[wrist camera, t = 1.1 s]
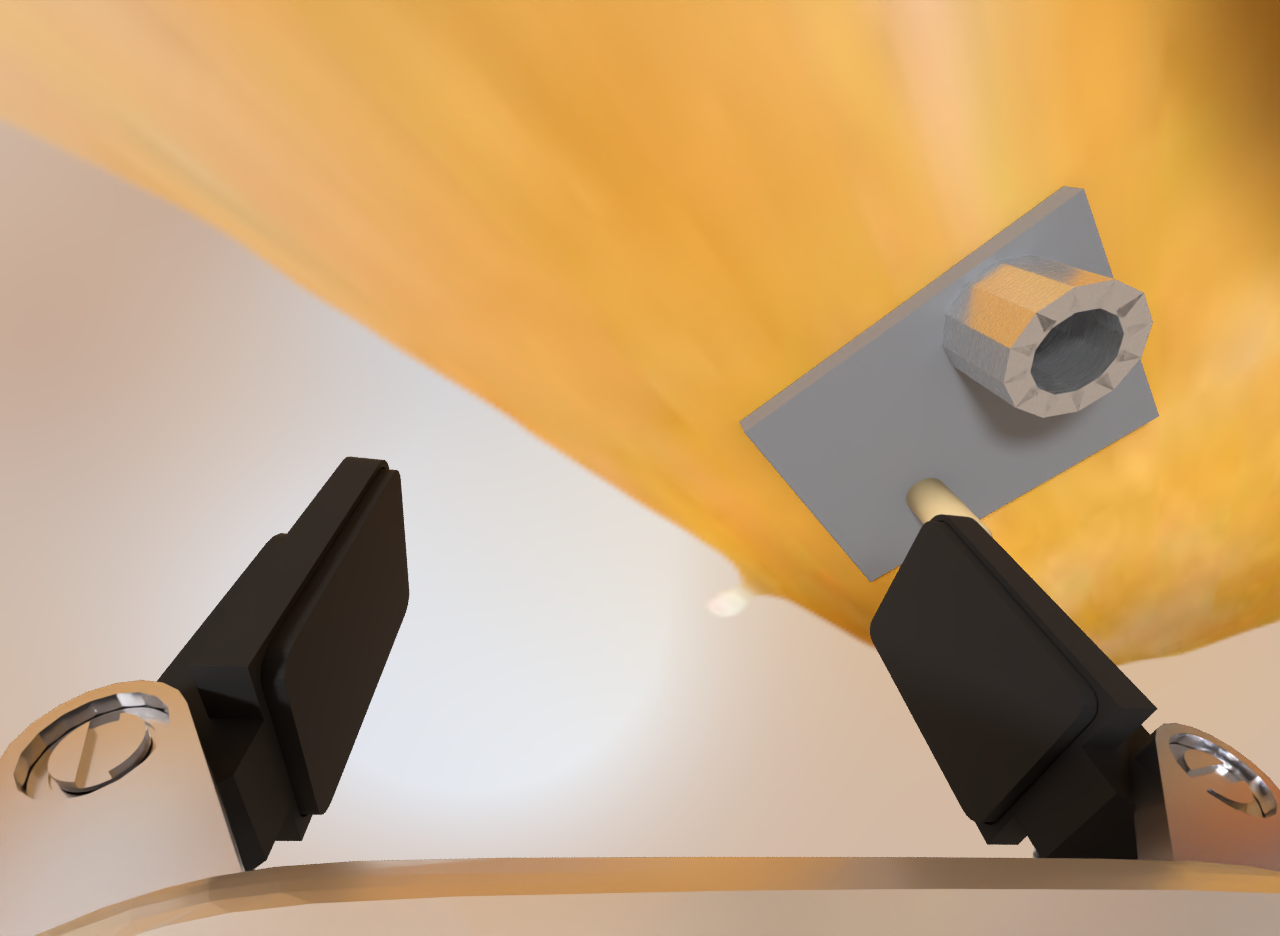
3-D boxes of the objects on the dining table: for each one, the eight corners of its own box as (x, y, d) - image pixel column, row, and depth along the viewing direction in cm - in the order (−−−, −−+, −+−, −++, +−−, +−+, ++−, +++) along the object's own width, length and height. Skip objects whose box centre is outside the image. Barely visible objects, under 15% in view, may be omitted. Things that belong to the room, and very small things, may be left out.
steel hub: (1040, 229, 30) (1130, 249, 25) (1077, 324, 33) (1164, 359, 28) (924, 312, 32) (985, 346, 27) (968, 394, 35) (1031, 439, 30)
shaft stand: (1063, 186, 31) (1175, 200, 25) (1140, 406, 39) (1239, 457, 33) (739, 422, 37) (766, 478, 31) (862, 569, 45) (903, 636, 39)
